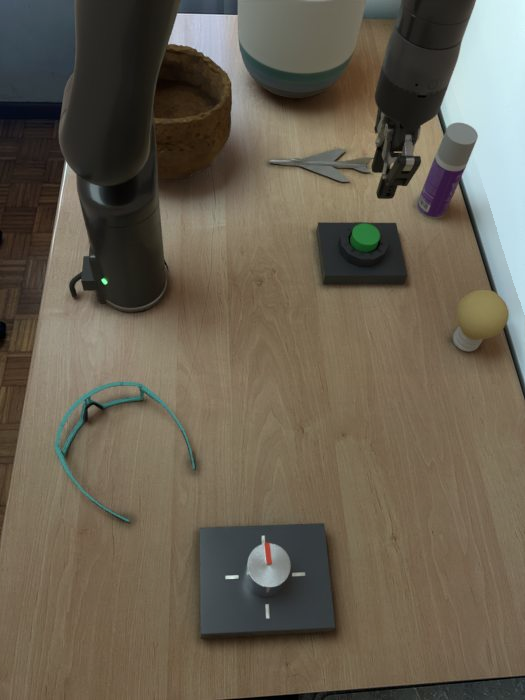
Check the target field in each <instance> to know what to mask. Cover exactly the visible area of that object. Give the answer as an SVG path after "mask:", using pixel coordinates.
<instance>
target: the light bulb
mask: <svg viewBox="0 0 525 700" xmlns="http://www.w3.org/2000/svg"><path fill="white" fill-rule="evenodd" d="M509 316H510V315H509V308H508V305H507V303H506V301H505V300H504V299H503V298H502V297H501V296H500V295H499V294H498V293H497V292H495V291H493V290H491V289H478V290H474V291H472V292H470V293H468V294H466V295H465V296H464V297H462V299H461V301H459V304H458V306H457V308H456V322H457V324H458V326H457V327H456V329H455V331H454V332H453V334H452V341H453V344H454V345H455V346H456V348H458V349H459V350H461V351H463V352H468V353H469V352H474V351H475V350H477V349H478V348H479V347H480V345H481V344H482V342H483V341H484V340H487V339H490V338H493V337H496V336H497V335H499V334H500V333H501V332H502V331H503V330H504V328H506V326H507V323H508V320H509Z"/></svg>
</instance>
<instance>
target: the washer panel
mask: <svg viewBox="0 0 525 700" xmlns="http://www.w3.org/2000/svg"><path fill="white" fill-rule="evenodd" d="M264 543H273V544H276V545H278V546H280V547H282V548H283V549H284V550H285V551H286V553H287V554H288V556H289V558H290V563H291V569H290V573H289V576H288V578H287V580H286V582H285V584H284V586H283V588H282V590H281V591H280V592H279V593H277V594H276V595H274V596H271V597H260V596H258V595H256V594H254V593H253V592H252V591H251V590H250V589H249V588H248V586H247V584H246V580H245V571H246V567H247V562H248V558H249V555H250V554H251V552H252V551H253V550H254V549H255V548H256V547H257V546H259V545H261V544H264ZM328 555H329V554H328V545H327V536H326V528H325V522H319V523H318V522H317V523H294V524H267V525H265V524H262V525H239V526H238V525H237V526H214V527H213V526H211V527H208V526H207V527H199V604H200V605H199V606H200V607H199V609H200V610H199V611H200V615H199V616H200V617H199V618H200V639H217V638H218V639H220V638H238V637H240V638H241V637H257V636H258V637H259V636H278V635H294V634H295V635H296V634H315V633H331V632H332V631H333V630H334V629H336V622H335V621H336V620H335V612H334V603H333V593H332V583H331V573H330V564H329V556H328Z"/></svg>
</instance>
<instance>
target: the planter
mask: <svg viewBox="0 0 525 700" xmlns="http://www.w3.org/2000/svg"><path fill="white" fill-rule="evenodd" d="M366 4H367V0H237V39H238V47H239V52H240V56H241V59H242V62H243V64H244V67H245V69H246V71H247V72H248V73H249V75H250V77H252V79H253V80H254V81H255V82H256V83H257V84H259V85H260V86H261V87H262V88H263V89H265V90H267V91H268V92H270V93H272V94H274V95H277V96H281V97H283V98H290V99H303V98H308V97H313V96H316V95H318V94H320V93H323V92H324V91H326V90H328V89H329V88H331V87H332V86H334V85H335V83H337V82H338V81H339V79H341V77H342V76H343V74H344V73H345V71H346V69H347V68H348V66H349V64H350V62H351V59H352V57H353V54H354V51H355V48H356V45H357V41H358V37H359V34H360V30H361V25H362V22H363V18H364V14H365V13H364V12H365V9H366Z"/></svg>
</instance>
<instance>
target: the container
mask: <svg viewBox="0 0 525 700" xmlns="http://www.w3.org/2000/svg"><path fill="white" fill-rule="evenodd" d="M478 137H479V135H478V132H477V130H476V129H475V128H474V127H473V126H471V125H469V124H468V123H464V122H454V123H450V124H449V125H448V126H447V127H446V130H445V131H444V135H443V137H442V139H441V141H440V144H439V146H438V149H437V150H436V152H435V155H434V158H433V162H432V163H431V166H430V169H429V171H428V174H427V176H426V179H425V182H424V185H423V187H422V189H421V192H420V194H419V197H418V200H417V203H416V210H417V211H418V213H419V214H420V215H421V216H422V217H424V218H426V219H430V220H438V219H441V218H442V217H443V218H444V216H445V214H446V212H447V210H448V208H449V206H450V203H451V201H452V199H453V197H454V194H455V192H456V190H457V187H458V186H459V184H460V181H461V178H462V176H463V174H464V172H465V170H466V167H467V165H468V163H469V160H470V157H471V156H472V153H473V150H474V147H475V145H476V143H477V141H478Z"/></svg>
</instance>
